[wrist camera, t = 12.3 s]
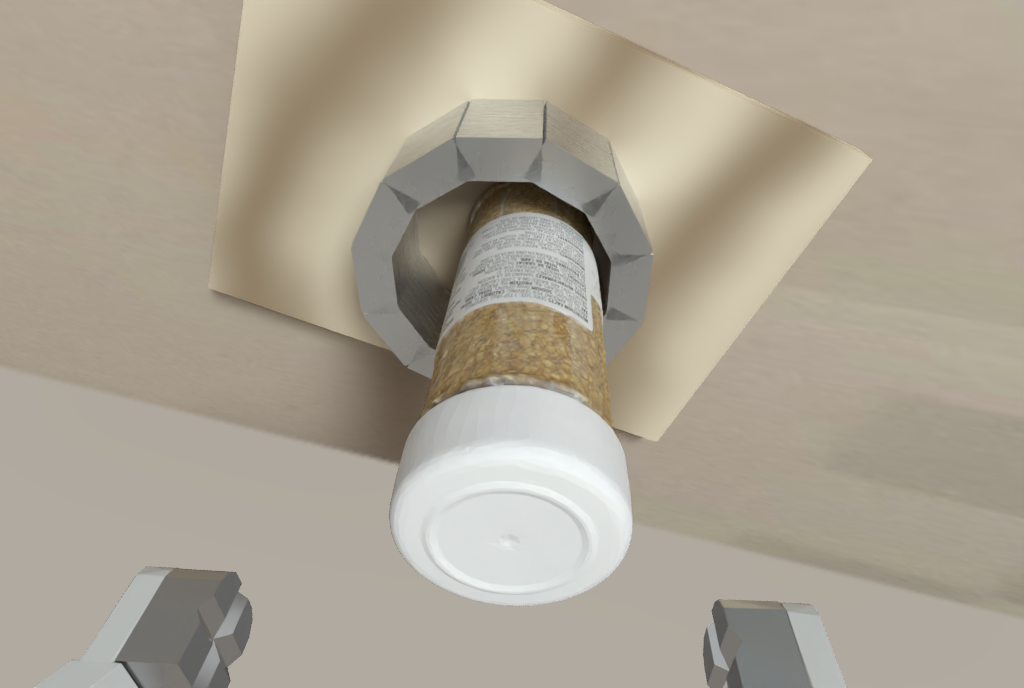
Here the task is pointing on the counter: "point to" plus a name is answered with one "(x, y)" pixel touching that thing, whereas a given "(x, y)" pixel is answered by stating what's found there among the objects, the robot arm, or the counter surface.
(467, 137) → the steel ring
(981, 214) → the counter surface
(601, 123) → the birch board
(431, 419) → the sprinkles bottle
